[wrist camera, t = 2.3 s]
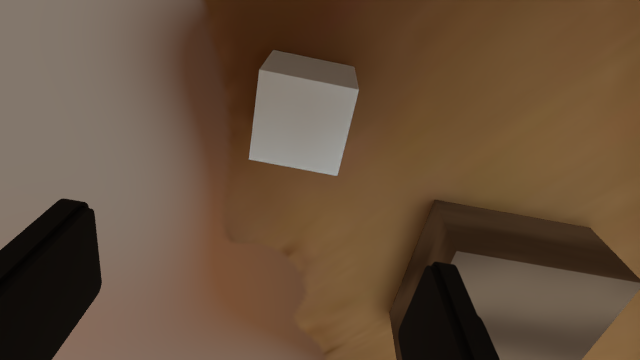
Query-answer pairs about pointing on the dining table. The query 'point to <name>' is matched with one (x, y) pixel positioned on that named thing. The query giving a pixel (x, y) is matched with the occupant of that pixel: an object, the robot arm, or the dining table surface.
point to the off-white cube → (303, 112)
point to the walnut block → (524, 279)
